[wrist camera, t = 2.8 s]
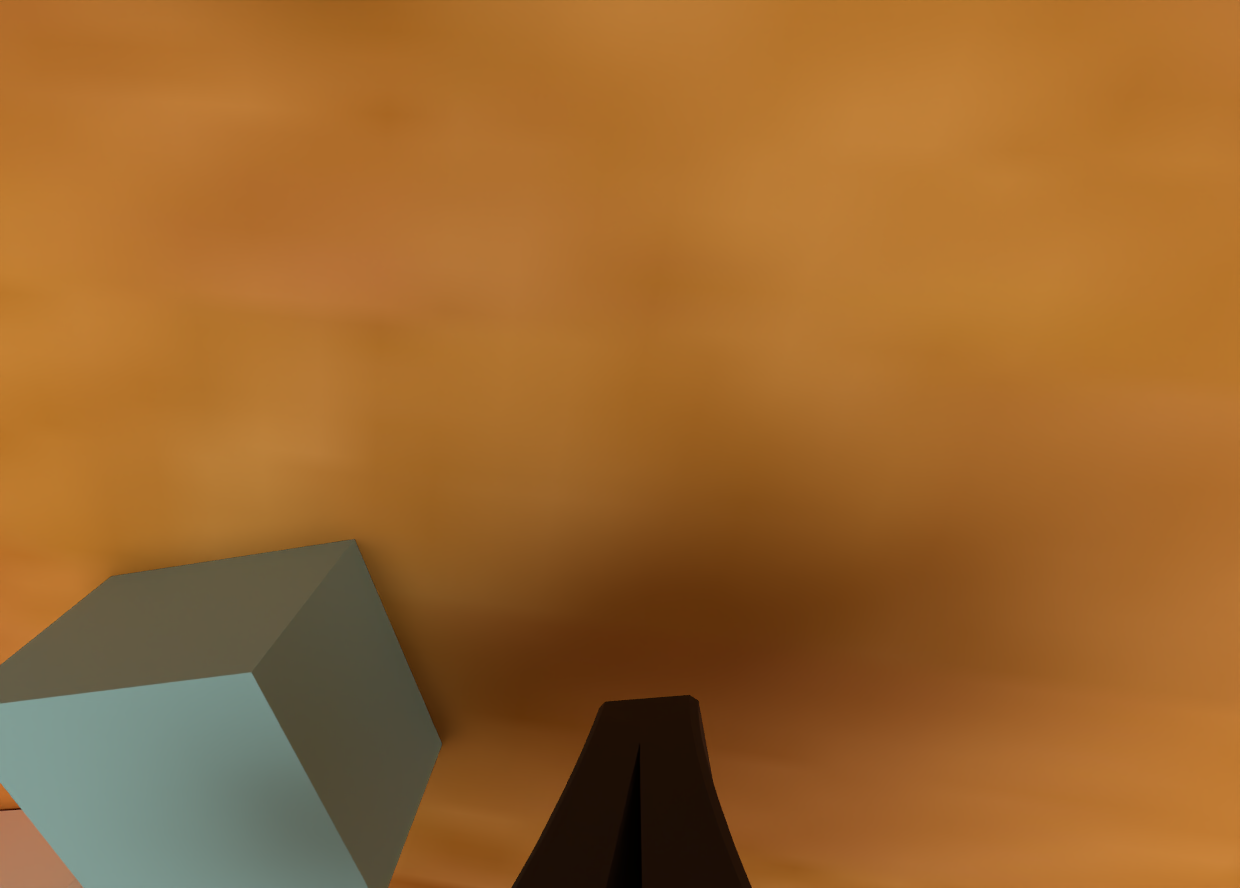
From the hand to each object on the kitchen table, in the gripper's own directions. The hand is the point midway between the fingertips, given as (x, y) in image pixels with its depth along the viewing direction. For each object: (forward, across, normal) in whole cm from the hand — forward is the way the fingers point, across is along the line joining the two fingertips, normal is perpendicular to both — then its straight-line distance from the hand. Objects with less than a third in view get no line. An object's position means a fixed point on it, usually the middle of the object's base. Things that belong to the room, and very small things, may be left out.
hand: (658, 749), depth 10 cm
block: (+3, +8, 0) cm, 8 cm away
